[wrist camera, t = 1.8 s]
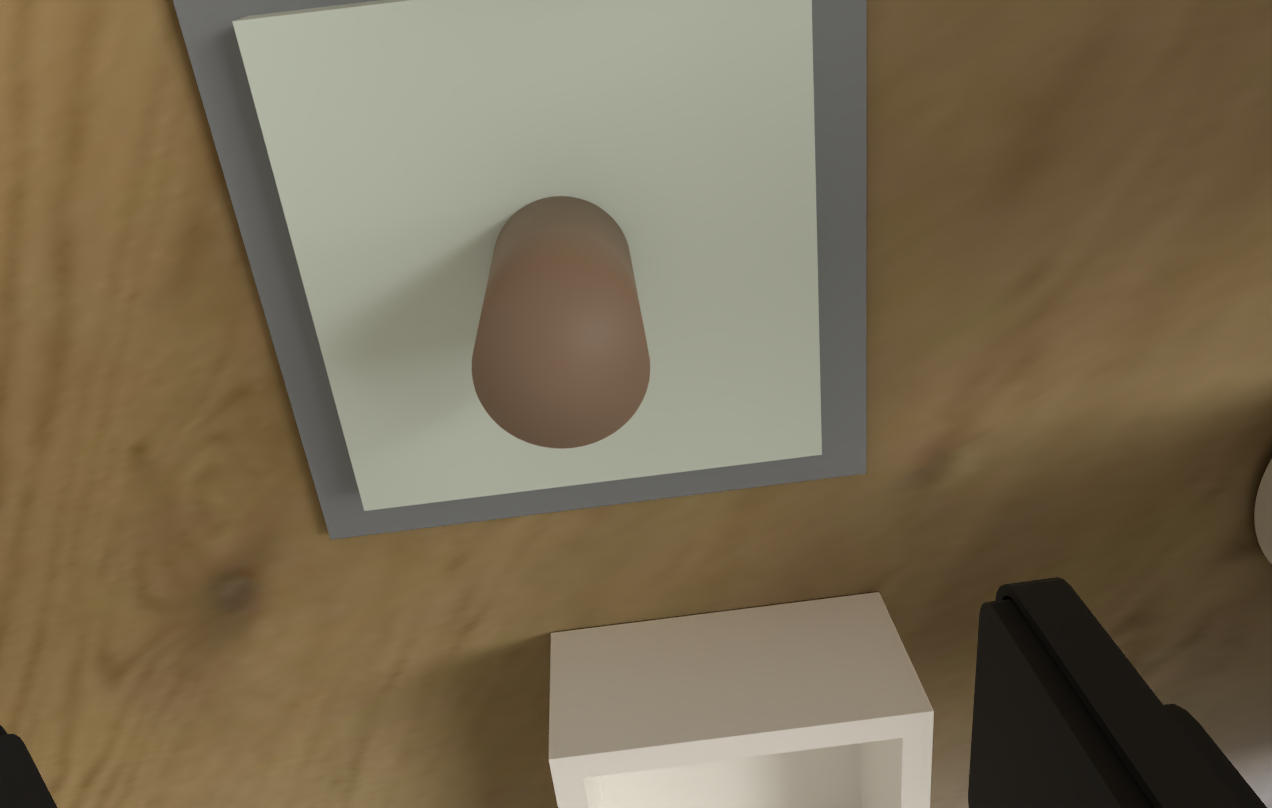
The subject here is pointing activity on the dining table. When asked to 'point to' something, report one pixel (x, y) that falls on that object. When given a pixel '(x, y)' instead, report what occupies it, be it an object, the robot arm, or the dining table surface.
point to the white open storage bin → (741, 711)
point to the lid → (550, 233)
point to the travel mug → (1264, 513)
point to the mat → (842, 263)
